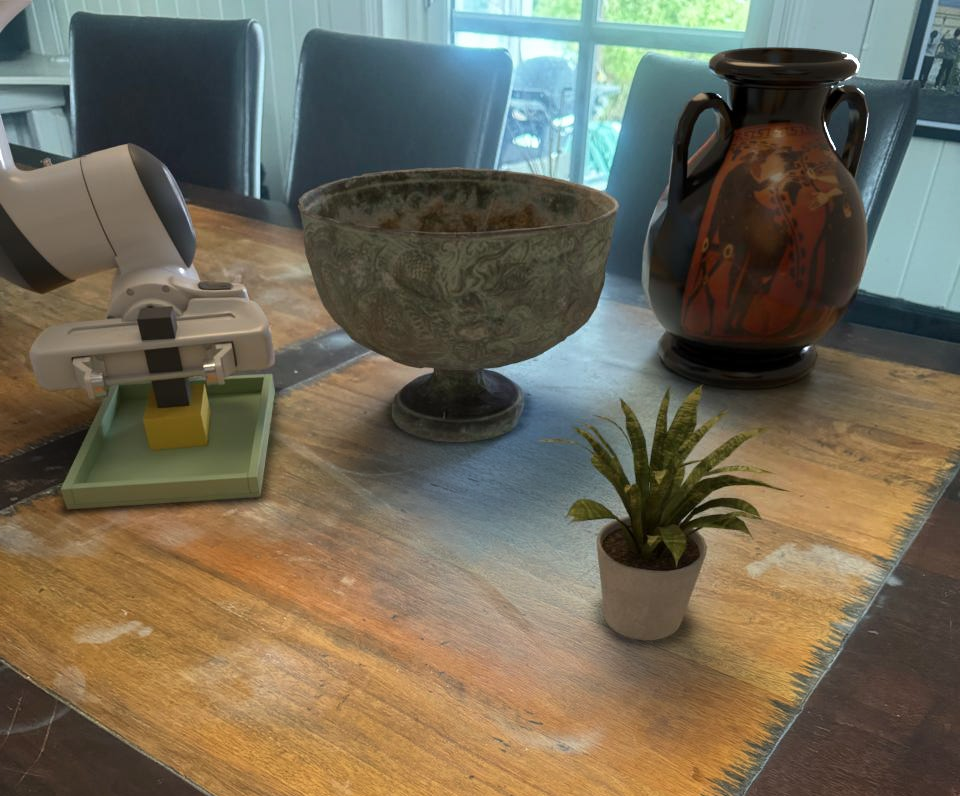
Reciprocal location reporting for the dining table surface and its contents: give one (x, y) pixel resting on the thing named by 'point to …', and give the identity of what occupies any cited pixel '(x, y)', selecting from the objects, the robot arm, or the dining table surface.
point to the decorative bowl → (458, 281)
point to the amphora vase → (759, 221)
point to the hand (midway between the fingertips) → (155, 383)
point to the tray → (180, 471)
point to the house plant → (660, 518)
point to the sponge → (171, 389)
